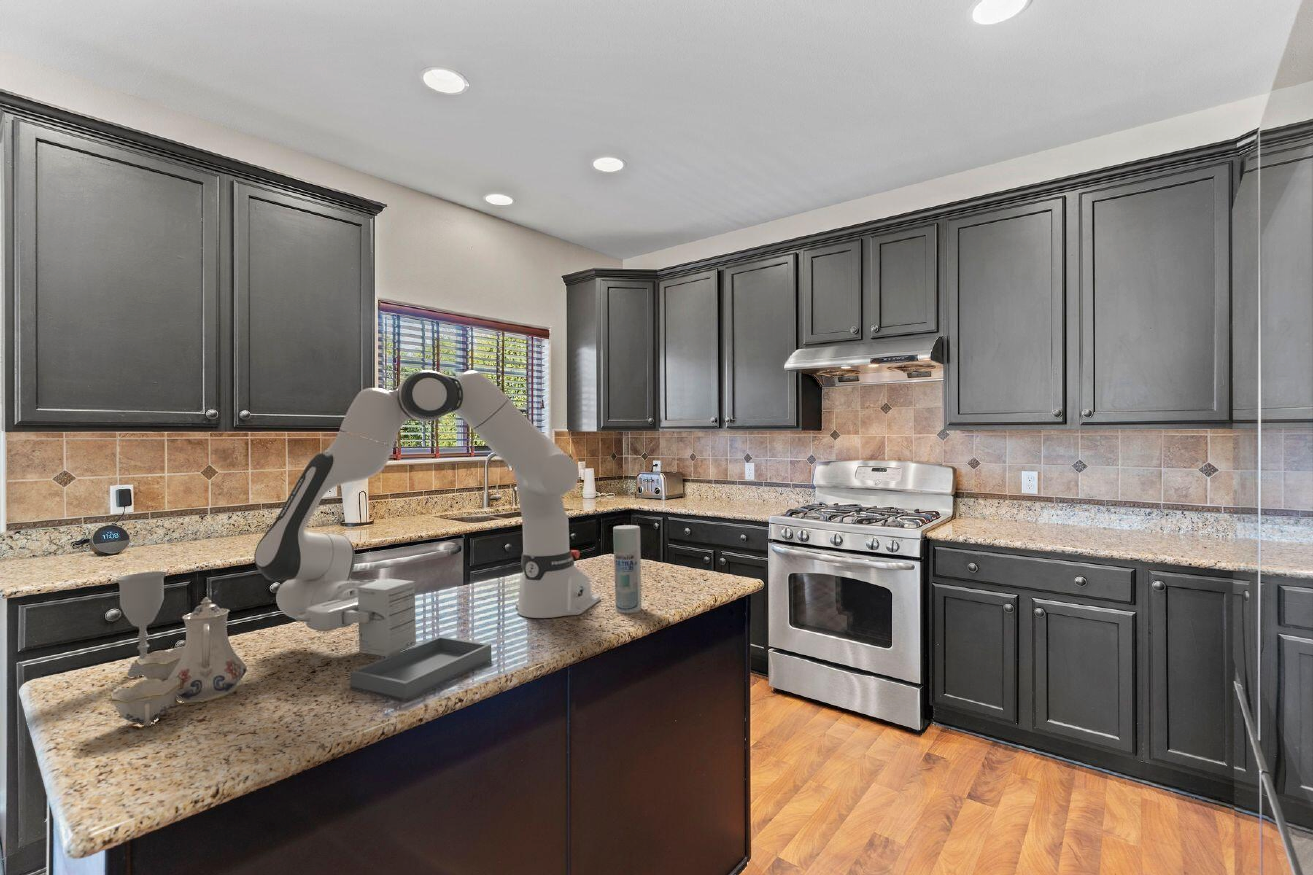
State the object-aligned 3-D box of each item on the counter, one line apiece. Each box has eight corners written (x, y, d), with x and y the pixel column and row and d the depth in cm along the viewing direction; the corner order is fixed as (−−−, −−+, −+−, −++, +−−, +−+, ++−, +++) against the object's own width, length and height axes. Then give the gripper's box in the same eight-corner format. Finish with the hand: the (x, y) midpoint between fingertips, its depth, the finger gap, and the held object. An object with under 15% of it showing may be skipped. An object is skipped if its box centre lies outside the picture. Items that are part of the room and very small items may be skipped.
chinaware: (133, 692, 108) (119, 600, 108) (245, 661, 118) (233, 576, 117) (111, 756, 86) (92, 640, 85) (252, 710, 95) (237, 607, 94)
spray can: (611, 612, 145) (609, 528, 145) (619, 605, 152) (617, 524, 152) (638, 613, 144) (635, 528, 144) (645, 606, 150) (643, 525, 150)
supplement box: (357, 653, 114) (355, 586, 114) (389, 640, 121) (387, 577, 121) (387, 658, 112) (385, 589, 111) (417, 644, 118) (415, 579, 118)
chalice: (166, 662, 118) (164, 569, 118) (171, 671, 113) (169, 574, 113) (116, 673, 113) (114, 576, 113) (118, 683, 108) (116, 581, 108)
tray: (440, 651, 121) (440, 636, 121) (491, 660, 115) (491, 644, 115) (350, 689, 103) (350, 671, 103) (405, 702, 97) (405, 683, 97)
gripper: (289, 601, 113) (340, 608, 107) (383, 577, 131) (430, 582, 125) (290, 635, 113) (340, 644, 107) (384, 606, 131) (431, 613, 125)
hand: (390, 610), depth 116 cm, fingers closed on supplement box, 7 cm apart
